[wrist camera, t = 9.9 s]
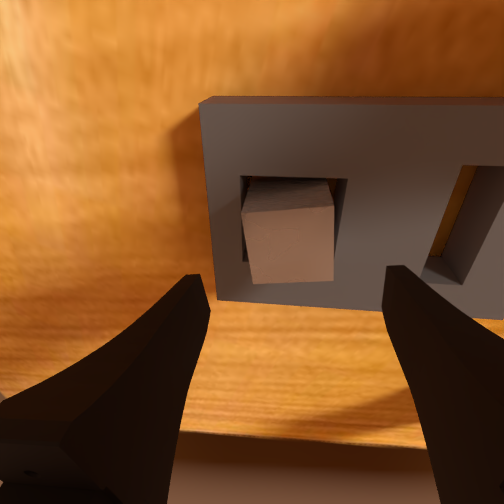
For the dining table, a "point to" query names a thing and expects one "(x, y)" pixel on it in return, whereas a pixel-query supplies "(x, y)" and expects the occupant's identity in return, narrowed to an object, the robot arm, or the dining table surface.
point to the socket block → (365, 192)
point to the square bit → (289, 229)
